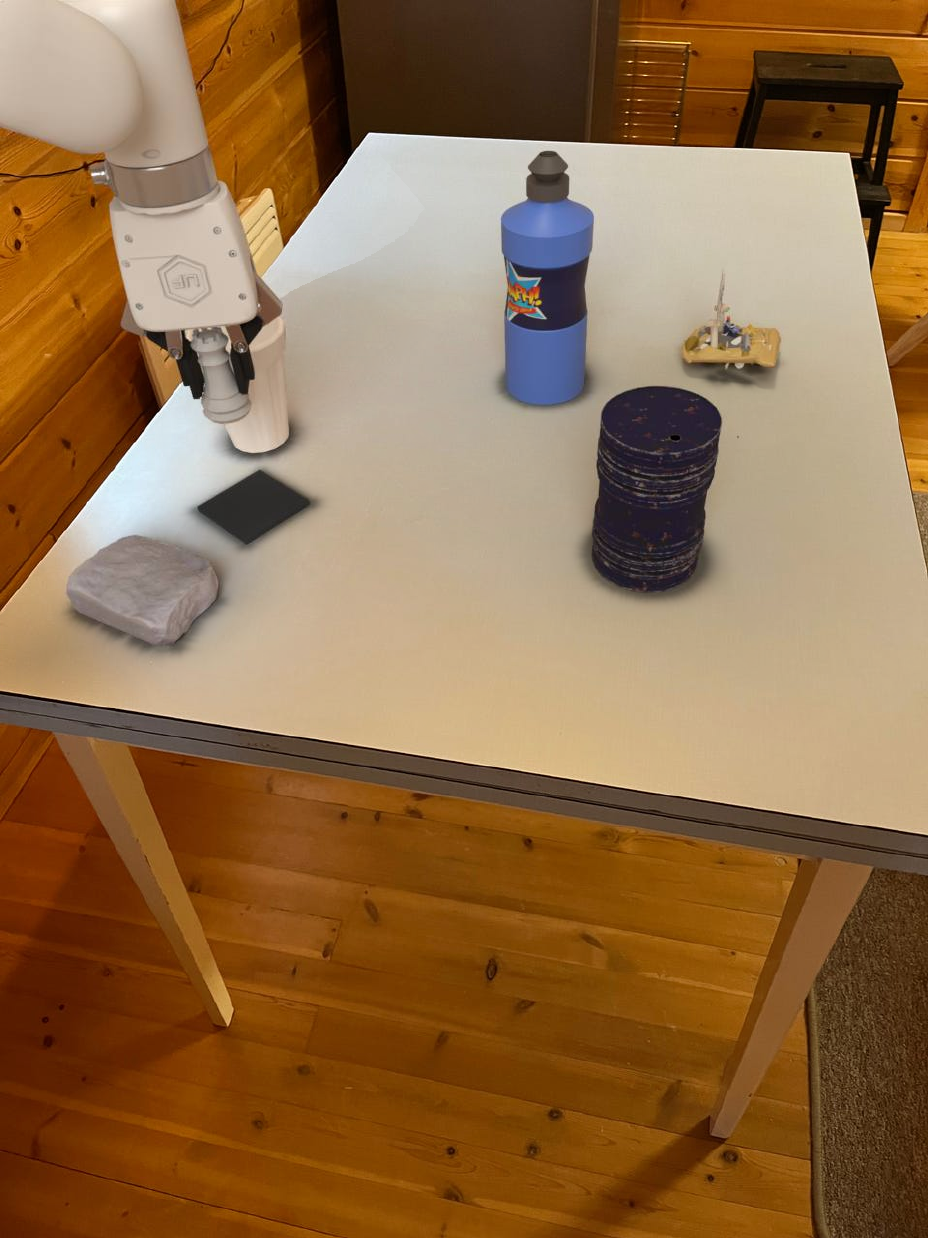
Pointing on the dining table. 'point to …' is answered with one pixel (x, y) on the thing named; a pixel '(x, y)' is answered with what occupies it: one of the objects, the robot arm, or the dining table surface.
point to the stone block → (144, 588)
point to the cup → (263, 392)
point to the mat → (253, 506)
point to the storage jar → (653, 486)
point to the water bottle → (546, 286)
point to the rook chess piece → (218, 378)
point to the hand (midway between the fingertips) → (221, 386)
